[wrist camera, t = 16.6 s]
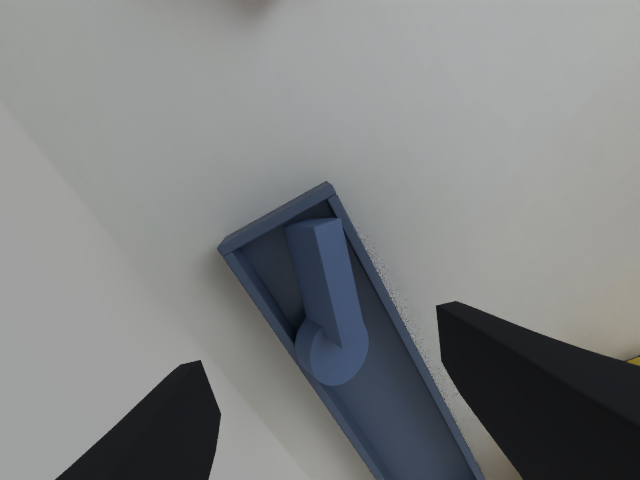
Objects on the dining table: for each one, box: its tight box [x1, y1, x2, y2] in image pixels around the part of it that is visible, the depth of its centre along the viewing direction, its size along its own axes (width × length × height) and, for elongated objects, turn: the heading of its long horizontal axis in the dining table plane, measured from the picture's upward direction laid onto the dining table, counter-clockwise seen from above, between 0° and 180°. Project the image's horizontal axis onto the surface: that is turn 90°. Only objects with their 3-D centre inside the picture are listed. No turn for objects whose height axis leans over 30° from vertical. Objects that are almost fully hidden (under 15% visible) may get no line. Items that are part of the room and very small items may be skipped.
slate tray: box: [217, 181, 485, 480], centre depth 18 cm, size 25×6×2 cm, turn 28°
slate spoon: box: [283, 218, 369, 386], centre depth 14 cm, size 8×4×3 cm, turn 13°
